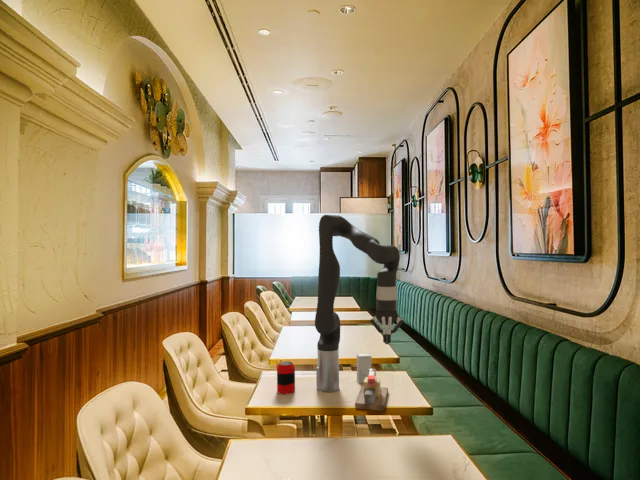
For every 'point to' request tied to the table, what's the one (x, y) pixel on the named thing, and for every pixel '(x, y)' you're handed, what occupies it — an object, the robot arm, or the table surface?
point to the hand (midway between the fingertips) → (386, 343)
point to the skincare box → (363, 366)
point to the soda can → (285, 377)
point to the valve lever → (371, 376)
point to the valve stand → (372, 396)
